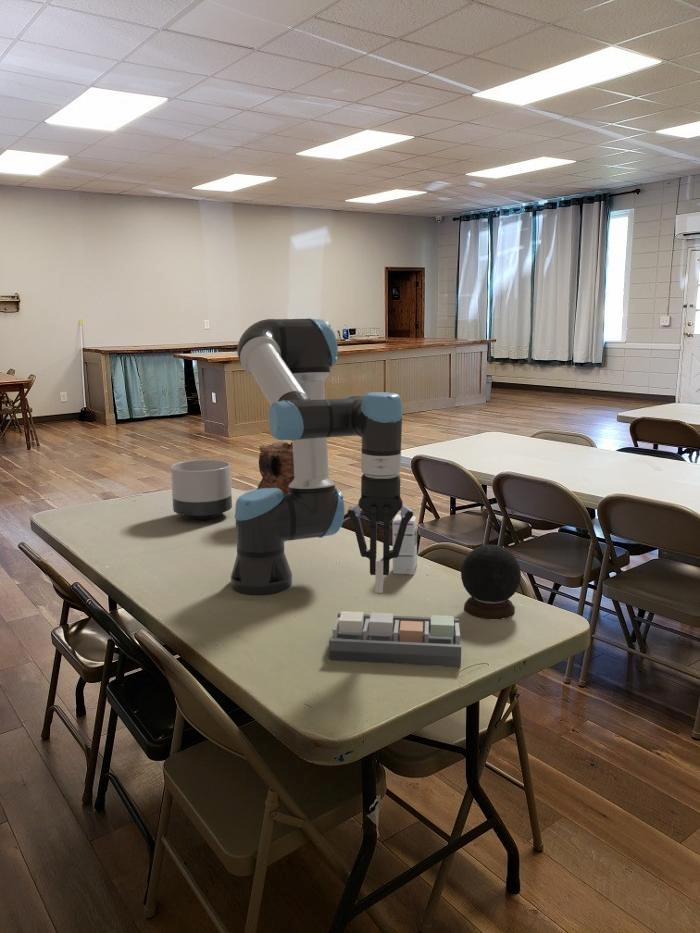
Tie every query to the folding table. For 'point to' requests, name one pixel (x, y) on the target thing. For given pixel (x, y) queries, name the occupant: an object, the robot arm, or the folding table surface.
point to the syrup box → (406, 547)
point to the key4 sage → (442, 626)
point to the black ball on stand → (490, 581)
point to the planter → (201, 488)
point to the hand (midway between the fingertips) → (379, 589)
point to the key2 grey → (381, 623)
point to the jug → (276, 466)
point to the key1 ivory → (351, 622)
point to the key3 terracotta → (411, 631)
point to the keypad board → (396, 645)
